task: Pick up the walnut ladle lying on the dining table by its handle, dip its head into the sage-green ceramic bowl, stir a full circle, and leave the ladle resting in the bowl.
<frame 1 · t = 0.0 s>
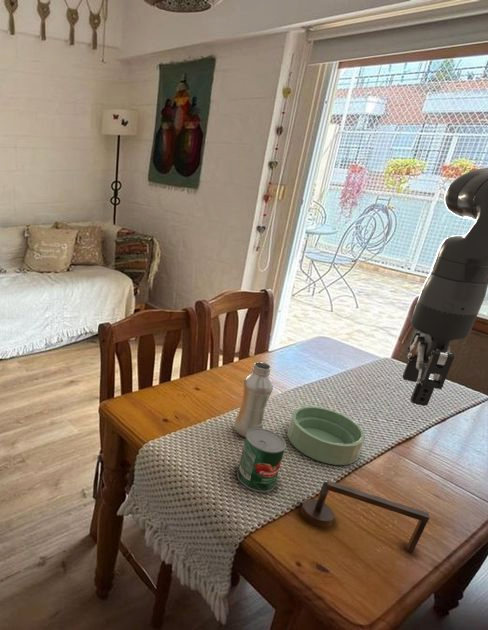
hand: (413, 391, 75), 31 cm above the table, tool pointing down, fingers open, 8 cm apart
bowl: (321, 444, 109), on the table
plastic bottle: (246, 434, 112), on the table
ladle: (315, 516, 88), on the table
canned tomato: (255, 479, 98), on the table
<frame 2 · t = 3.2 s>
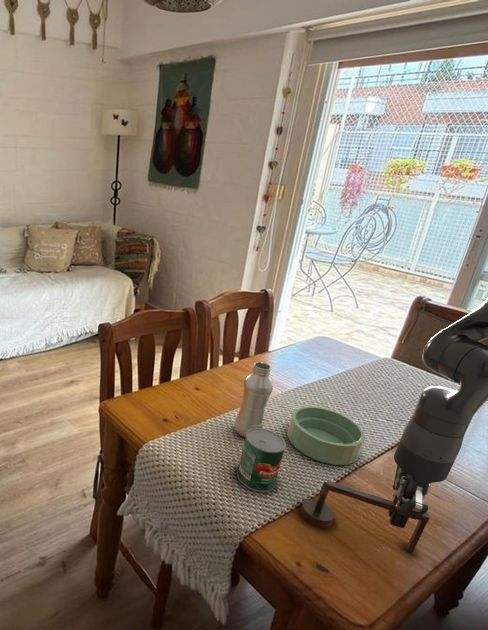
hand: (395, 520, 81), 6 cm above the table, tool pointing down, fingers closed on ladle
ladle: (315, 516, 88), on the table, touching gripper
everything else where it was.
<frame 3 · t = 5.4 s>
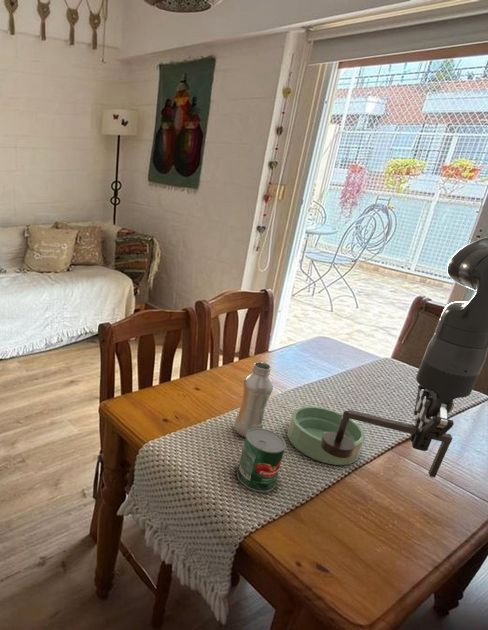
hand: (417, 445, 81), 19 cm above the table, tool pointing down, fingers closed on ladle
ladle: (335, 448, 88), point 13 cm above the table, touching gripper
everything else where it was.
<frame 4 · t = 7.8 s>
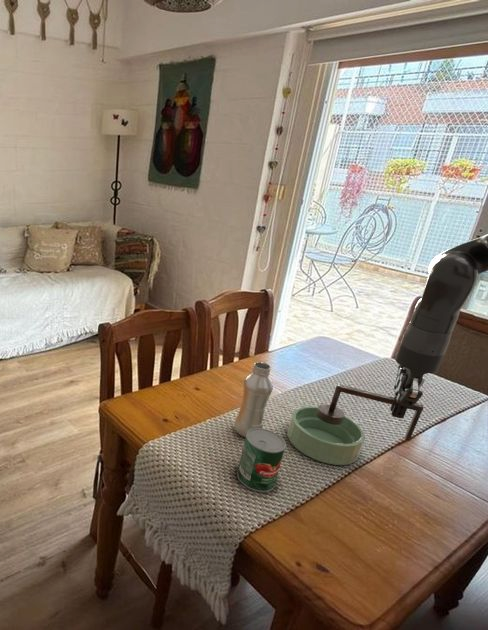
hand: (396, 414, 99), 14 cm above the table, tool pointing down, fingers closed on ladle
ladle: (329, 417, 106), point 8 cm above the table, touching gripper
everything else where it was.
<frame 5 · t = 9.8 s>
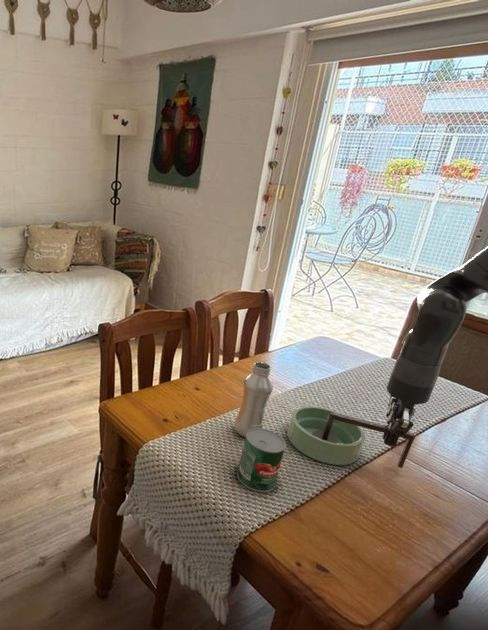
hand: (388, 441, 100), 7 cm above the table, tool pointing down, fingers closed on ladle
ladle: (323, 444, 107), point 1 cm above the table, touching gripper
everything else where it was.
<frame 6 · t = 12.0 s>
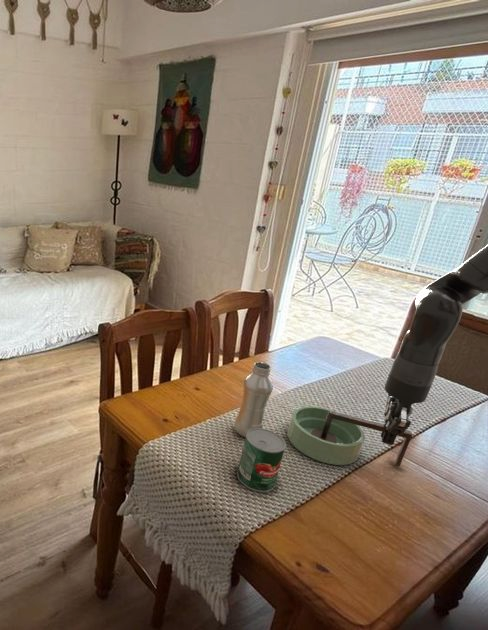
hand: (386, 440, 102), 6 cm above the table, tool pointing down, fingers closed on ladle
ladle: (321, 442, 109), point 1 cm above the table, touching gripper
everything else where it was.
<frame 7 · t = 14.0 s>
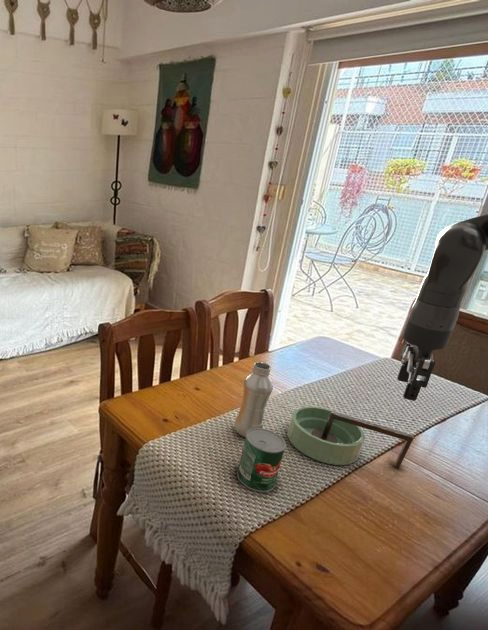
hand: (405, 389, 96), 20 cm above the table, tool pointing down, fingers open, 8 cm apart
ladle: (322, 442, 109), point 1 cm above the table, touching bowl
everything else where it was.
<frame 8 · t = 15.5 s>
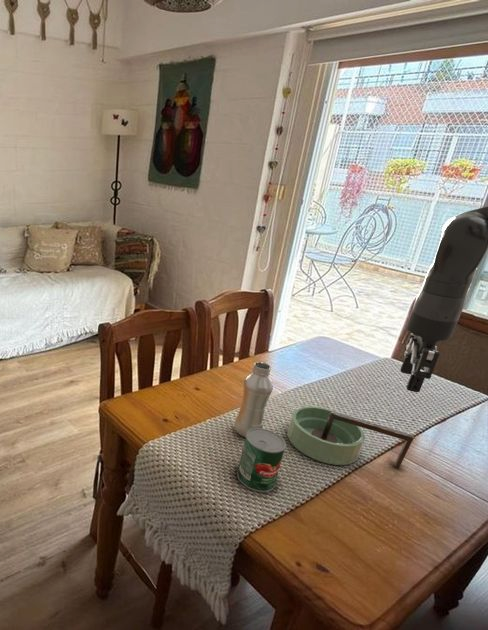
hand: (408, 381, 96), 22 cm above the table, tool pointing down, fingers open, 8 cm apart
nothing on the table moved.
at the end: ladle inside the target area in the bowl (0.1 cm from its centre), point 0.6 cm above the bowl's base; the gripper is holding nothing; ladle moved 26.0 cm from its start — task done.
